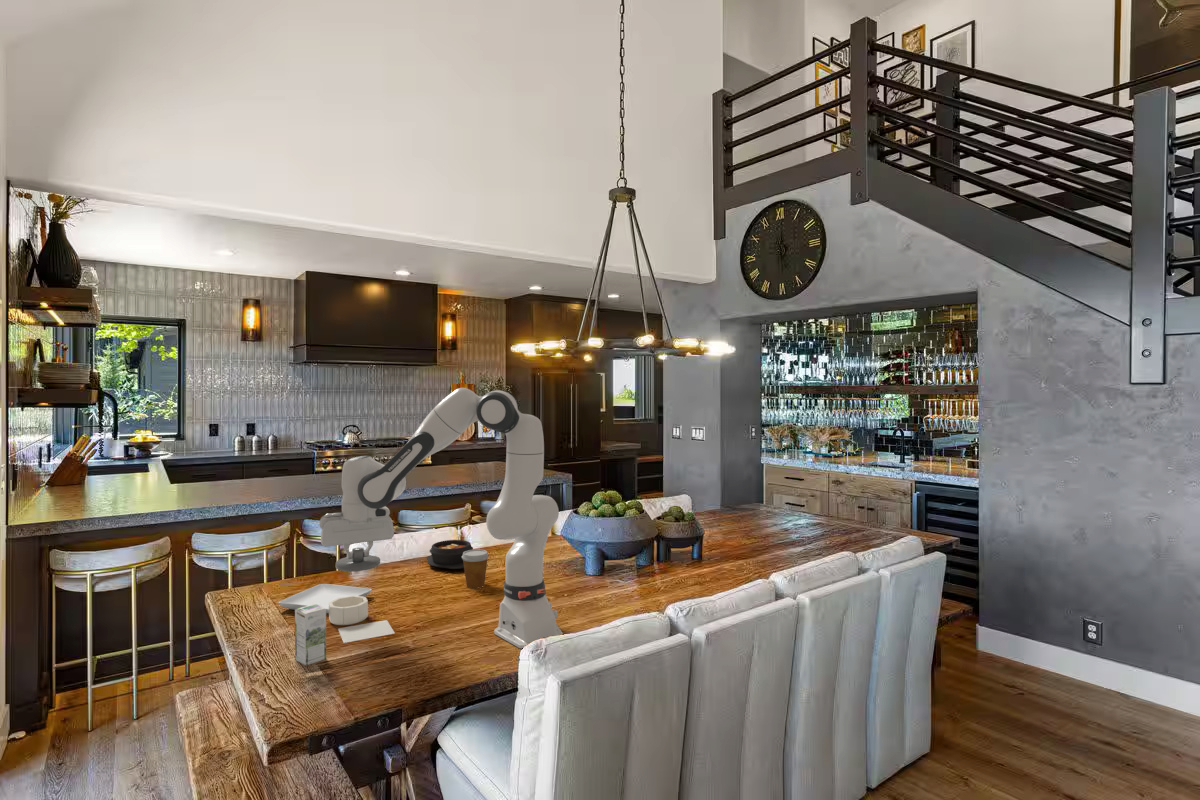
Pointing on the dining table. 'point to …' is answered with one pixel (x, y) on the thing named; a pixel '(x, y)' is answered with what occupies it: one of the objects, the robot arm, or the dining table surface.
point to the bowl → (348, 610)
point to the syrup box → (310, 634)
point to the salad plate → (322, 595)
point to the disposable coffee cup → (475, 567)
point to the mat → (365, 631)
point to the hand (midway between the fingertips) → (358, 557)
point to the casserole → (448, 554)
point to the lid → (358, 561)
